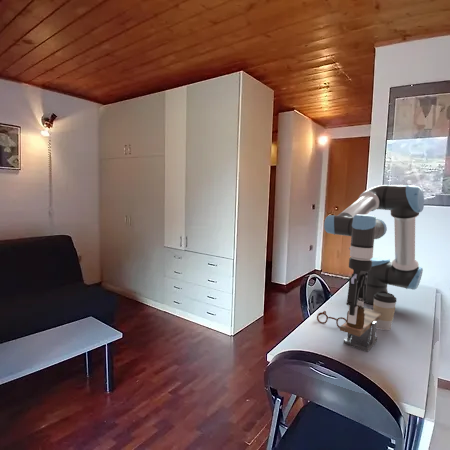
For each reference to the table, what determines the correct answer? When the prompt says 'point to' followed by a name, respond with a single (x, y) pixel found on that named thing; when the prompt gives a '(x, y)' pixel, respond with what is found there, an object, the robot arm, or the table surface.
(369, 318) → the beam
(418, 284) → the robot arm
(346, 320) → the glasses
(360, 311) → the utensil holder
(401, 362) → the table surface
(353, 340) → the stand
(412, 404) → the table surface
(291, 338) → the table surface
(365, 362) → the table surface
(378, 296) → the coffee cup
